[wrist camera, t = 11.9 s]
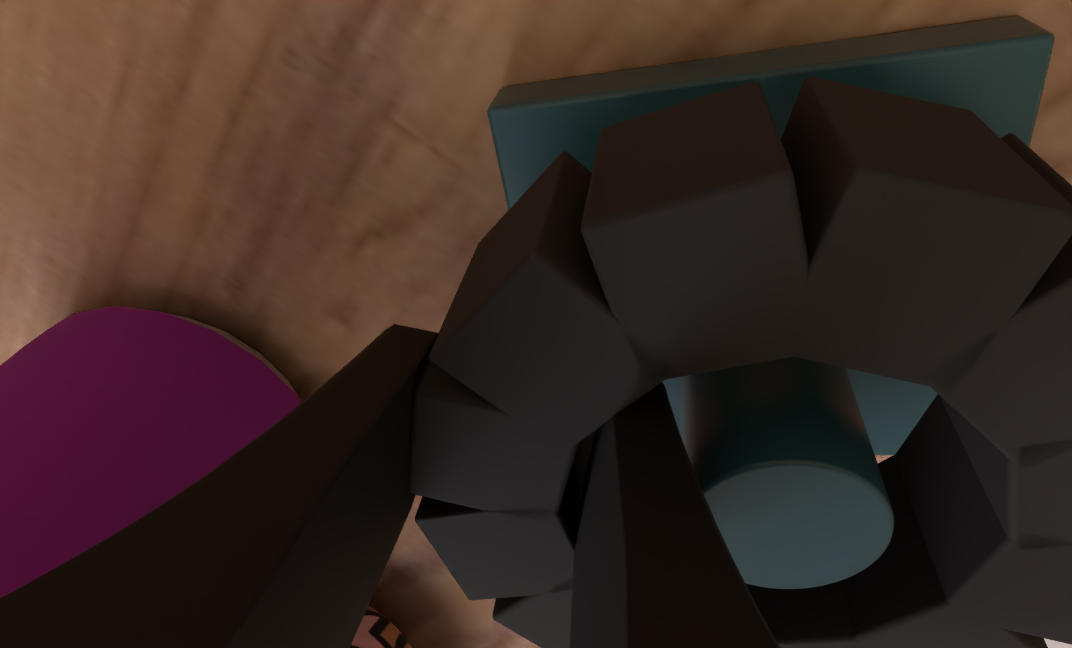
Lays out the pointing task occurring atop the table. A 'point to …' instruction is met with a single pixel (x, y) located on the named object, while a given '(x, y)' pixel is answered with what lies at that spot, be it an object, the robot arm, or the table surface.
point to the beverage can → (118, 426)
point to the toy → (378, 633)
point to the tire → (774, 351)
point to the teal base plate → (789, 383)
